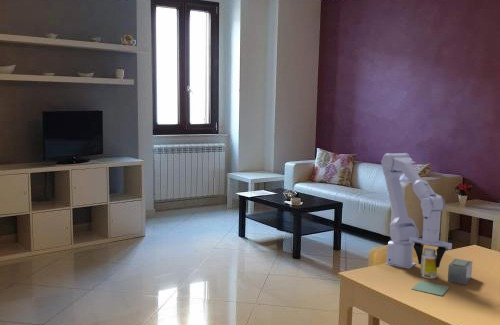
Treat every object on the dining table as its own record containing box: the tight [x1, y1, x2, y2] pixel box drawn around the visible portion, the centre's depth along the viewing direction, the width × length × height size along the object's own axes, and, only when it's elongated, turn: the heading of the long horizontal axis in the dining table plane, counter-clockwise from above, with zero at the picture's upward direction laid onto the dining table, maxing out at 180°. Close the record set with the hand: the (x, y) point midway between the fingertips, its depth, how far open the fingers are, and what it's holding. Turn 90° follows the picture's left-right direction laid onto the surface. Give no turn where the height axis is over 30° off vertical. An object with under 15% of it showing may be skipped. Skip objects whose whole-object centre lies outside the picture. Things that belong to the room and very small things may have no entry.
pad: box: [411, 280, 450, 297], centre depth 172 cm, size 10×10×1 cm
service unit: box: [447, 258, 473, 286], centre depth 182 cm, size 6×10×6 cm, turn 146°
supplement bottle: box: [419, 247, 438, 280], centre depth 184 cm, size 6×6×10 cm
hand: (428, 265), depth 184 cm, fingers closed on supplement bottle, 6 cm apart
